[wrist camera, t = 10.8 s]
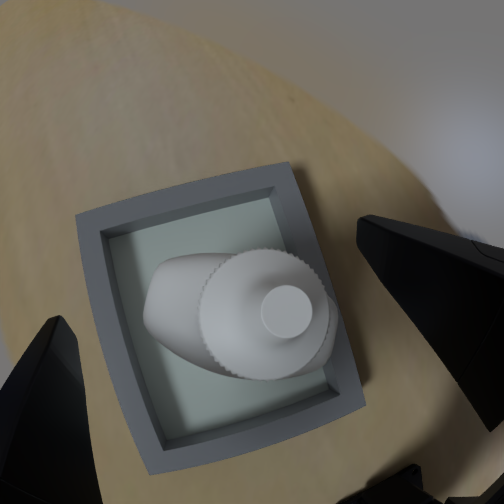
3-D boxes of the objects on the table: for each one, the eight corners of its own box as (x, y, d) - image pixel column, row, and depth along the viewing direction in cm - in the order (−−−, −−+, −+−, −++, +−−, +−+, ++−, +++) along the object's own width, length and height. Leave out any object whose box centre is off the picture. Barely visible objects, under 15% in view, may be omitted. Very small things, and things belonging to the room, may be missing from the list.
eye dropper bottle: (239, 387, 15) (322, 523, 3) (156, 312, 15) (32, 282, 4) (295, 324, 16) (475, 314, 5) (214, 250, 16) (241, 89, 5)
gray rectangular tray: (349, 397, 16) (366, 405, 14) (154, 459, 14) (149, 475, 12) (280, 177, 18) (288, 161, 16) (87, 226, 16) (75, 215, 14)
